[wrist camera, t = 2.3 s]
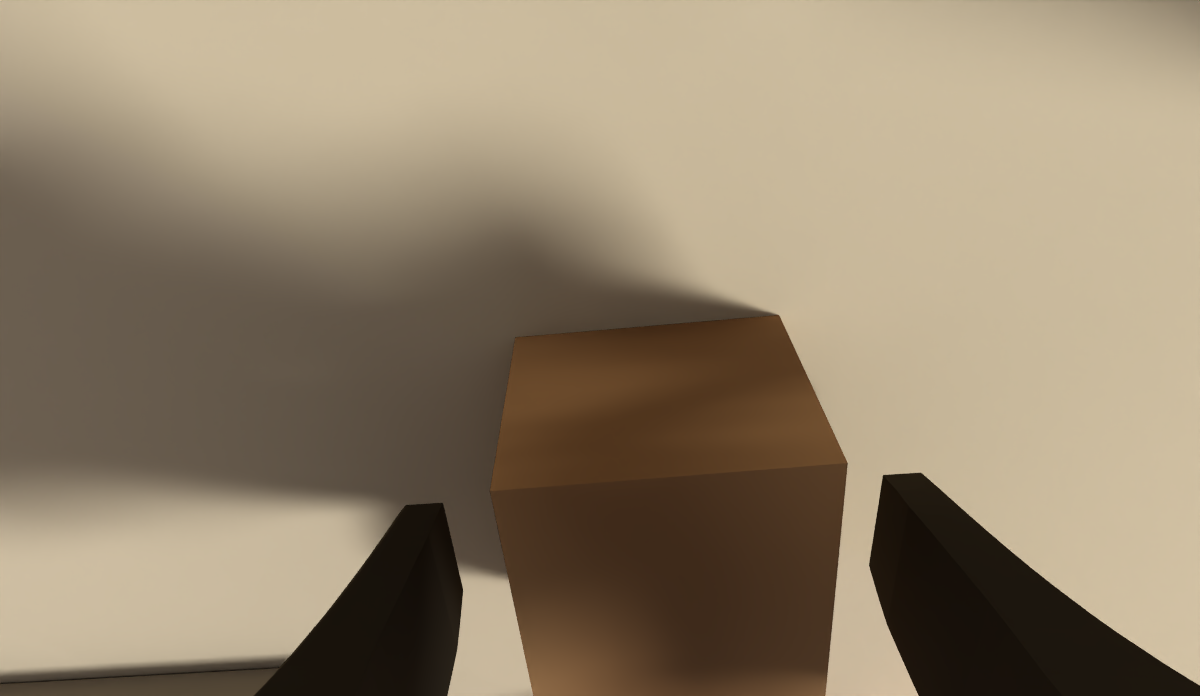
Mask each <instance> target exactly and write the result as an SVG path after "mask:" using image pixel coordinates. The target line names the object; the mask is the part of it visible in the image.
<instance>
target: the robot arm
mask: <svg viewBox="0 0 1200 696" xmlns="http://www.w3.org/2000/svg"><path fill="white" fill-rule="evenodd" d="M869 567H870V570H871V574H872V577H873V580H874V584H875V587H876V591H877V594H878V597H879V601H880V604H881V607H882V610H883V613H884V616H885V619H886V623H887V625H888V628H889V630H890V632H891V635H892V637H893V639H894V642H895V644H896V646H897V648H898V651H899V653H900V655H901V657H902V660H903V662H904V664H905V666H906V669H907V671H908V673H909V675H910V678H911V680H912V682H913V684H914V686H915V689H916V691H917V693H918V695H919V696H1200V685H1198V684H1196V683H1194V682H1193V681H1191V680H1189V679H1188V678H1186V677H1185V676H1183V675H1181V674H1180V673H1178V672H1177V671H1175V670H1173V669H1172V668H1170V667H1169V666H1167V665H1165V664H1164V663H1162V662H1161V661H1159V660H1158V659H1156V658H1155V657H1153V656H1152V655H1150V654H1149V653H1147V652H1146V651H1144V650H1143V649H1141V648H1140V647H1138V646H1137V645H1135V644H1134V643H1132V642H1131V641H1129V640H1128V639H1126V638H1125V637H1123V636H1122V635H1120V634H1119V633H1117V632H1116V631H1114V630H1113V629H1111V628H1110V627H1108V626H1107V625H1106V624H1104V623H1103V622H1101V621H1100V620H1099V619H1097V618H1096V617H1094V616H1093V615H1092V614H1090V613H1089V612H1088V611H1086V610H1085V609H1084V608H1082V607H1081V606H1080V605H1078V604H1077V603H1076V602H1074V601H1073V600H1072V599H1070V598H1069V597H1068V596H1066V595H1065V594H1064V593H1062V592H1061V591H1060V590H1058V589H1057V588H1056V587H1054V586H1053V585H1052V584H1051V583H1049V582H1048V581H1047V580H1046V579H1044V578H1043V577H1042V576H1040V575H1039V574H1038V573H1037V572H1035V571H1034V570H1033V569H1032V568H1030V567H1029V566H1028V565H1027V564H1026V563H1024V562H1023V561H1022V560H1021V559H1020V558H1018V557H1017V556H1016V555H1015V554H1014V553H1012V552H1011V551H1010V550H1009V549H1008V548H1006V547H1005V546H1004V545H1003V544H1002V543H1000V542H999V541H998V540H997V539H996V538H995V537H993V536H992V535H991V534H990V533H989V532H988V531H986V530H985V529H984V528H983V527H982V526H981V525H980V524H978V523H977V522H976V521H975V520H974V519H973V518H972V517H970V516H969V515H968V514H967V513H966V512H965V511H964V510H963V509H961V508H960V507H959V506H958V505H957V504H956V503H955V502H954V501H952V500H951V499H950V498H949V497H948V496H947V495H946V494H945V493H944V492H942V491H941V490H940V489H939V488H938V487H937V486H936V485H935V484H933V483H932V482H931V481H930V480H929V479H928V478H927V477H925V476H924V475H923V474H922V473H910V474H894V475H883V479H882V486H881V492H880V499H879V505H878V512H877V518H876V524H875V531H874V537H873V544H872V550H871V557H870V563H869ZM462 596H463V588H462V583H461V579H460V575H459V570H458V566H457V562H456V557H455V553H454V549H453V544H452V540H451V536H450V531H449V527H448V523H447V518H446V514H445V510H444V505H443V503H433V504H417V505H406V506H405V507H404V508H403V509H402V510H401V512H400V513H399V514H398V516H397V517H396V519H395V520H394V522H393V523H392V525H391V526H390V527H389V529H388V530H387V532H386V533H385V535H384V536H383V537H382V539H381V540H380V542H379V543H378V545H377V546H376V547H375V549H374V550H373V552H372V553H371V554H370V556H369V557H368V559H367V560H366V561H365V563H364V564H363V565H362V567H361V568H360V570H359V571H358V572H357V574H356V575H355V576H354V578H353V579H352V580H351V582H350V583H349V584H348V585H347V587H346V588H345V589H344V591H343V592H342V593H341V595H340V596H339V597H338V599H337V600H336V601H335V603H334V604H333V605H332V606H331V608H330V609H329V610H328V611H327V613H326V614H325V615H324V616H323V618H322V619H321V620H320V621H319V622H318V624H317V625H316V626H315V627H314V628H313V630H312V631H311V632H310V633H309V634H308V636H307V637H306V638H305V639H304V640H303V641H302V643H301V644H300V645H299V646H298V647H297V649H296V650H295V651H294V652H293V653H292V655H291V656H290V657H289V658H288V659H287V660H286V661H285V662H284V664H283V665H282V666H281V667H280V668H279V669H278V670H277V671H276V672H275V673H274V675H273V676H272V677H271V678H270V679H269V680H268V681H267V682H266V683H265V684H264V685H263V686H262V687H261V688H260V689H259V690H258V691H257V693H256V694H255V695H254V696H447V694H448V690H449V685H450V680H451V676H452V671H453V667H454V662H455V657H456V652H457V646H458V637H459V628H460V618H461V607H462Z"/></svg>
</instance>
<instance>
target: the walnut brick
mask: <svg viewBox="0 0 1200 696" xmlns="http://www.w3.org/2000/svg"><path fill="white" fill-rule="evenodd" d="M847 464H848V463H847V461H846V459H845V456H844V454H843V452H842V450H841V448H840V446H839V443H838V441H837V439H836V437H835V435H834V433H833V430H832V428H831V426H830V424H829V422H828V420H827V418H826V415H825V413H824V411H823V409H822V407H821V405H820V402H819V400H818V398H817V396H816V394H815V392H814V389H813V387H812V385H811V383H810V381H809V379H808V377H807V374H806V372H805V370H804V368H803V366H802V364H801V361H800V359H799V357H798V355H797V353H796V351H795V348H794V346H793V344H792V342H791V340H790V338H789V336H788V333H787V331H786V329H785V327H784V325H783V323H782V320H781V318H780V316H779V315H774V316H762V317H750V318H738V319H727V320H715V321H703V322H691V323H680V324H668V325H656V326H644V327H633V328H621V329H609V330H597V331H585V332H574V333H562V334H550V335H538V336H527V337H515V343H514V349H513V355H512V361H511V367H510V373H509V379H508V385H507V391H506V397H505V403H504V409H503V415H502V421H501V427H500V433H499V439H498V446H497V452H496V458H495V464H494V470H493V476H492V482H491V488H490V494H491V499H492V503H493V508H494V513H495V517H496V522H497V527H498V531H499V536H500V541H501V546H502V550H503V555H504V560H505V564H506V569H507V574H508V578H509V583H510V588H511V593H512V597H513V602H514V607H515V611H516V616H517V621H518V625H519V630H520V635H521V640H522V644H523V649H524V654H525V658H526V663H527V668H528V672H529V677H530V682H531V687H532V691H533V696H825V693H826V683H827V673H828V662H829V652H830V641H831V631H832V620H833V610H834V600H835V589H836V579H837V568H838V558H839V547H840V537H841V527H842V516H843V506H844V495H845V485H846V474H847Z"/></svg>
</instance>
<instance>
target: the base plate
mask: <svg viewBox="0 0 1200 696" xmlns="http://www.w3.org/2000/svg"><path fill="white" fill-rule="evenodd" d="M278 669H279V668H274V669H257V670H240V671H222V672H205V673H187V674H170V675H152V676H135V677H118V678H100V679H83V680H65V681H48V682H31V683H13V684H0V696H254V695H255V694H256V693H257V691H258V690H259V689H260V688H261V687H262V686H263V685H264V684H265V683H266V682H267V681H268V680H269V679H270V678H271V677H272V676H273V675H274V673H275V672H276V671H277V670H278Z"/></svg>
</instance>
